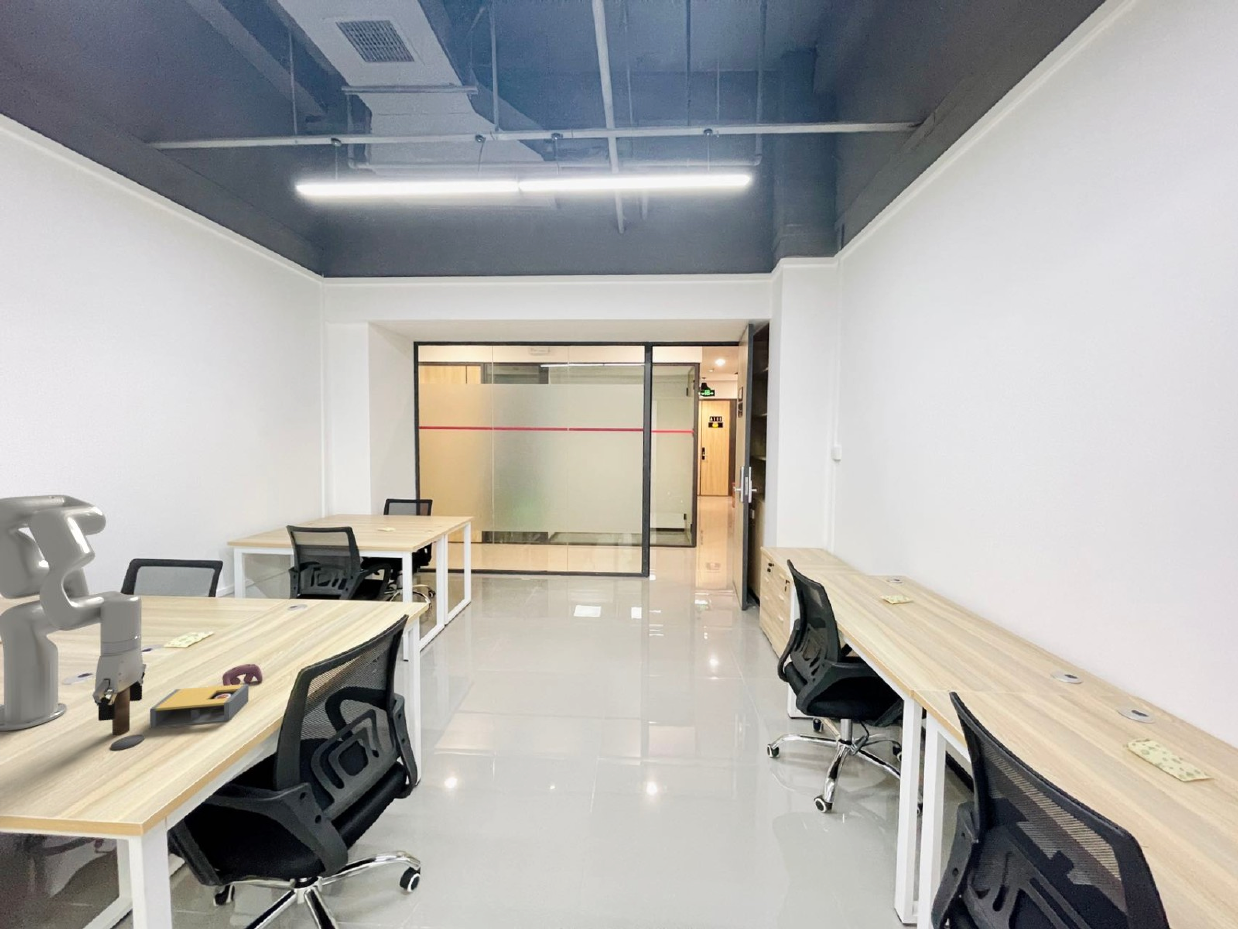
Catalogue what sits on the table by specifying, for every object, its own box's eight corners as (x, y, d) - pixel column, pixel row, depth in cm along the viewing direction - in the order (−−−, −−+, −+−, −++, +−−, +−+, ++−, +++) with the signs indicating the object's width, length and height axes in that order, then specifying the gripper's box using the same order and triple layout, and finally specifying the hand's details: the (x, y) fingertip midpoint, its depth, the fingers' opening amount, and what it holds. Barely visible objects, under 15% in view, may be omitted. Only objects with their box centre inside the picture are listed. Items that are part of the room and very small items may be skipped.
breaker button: (211, 706, 138) (211, 700, 138) (218, 699, 142) (218, 694, 142) (226, 704, 139) (226, 699, 139) (233, 698, 143) (233, 693, 142)
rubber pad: (104, 751, 121) (104, 749, 121) (122, 737, 127) (122, 736, 127) (134, 748, 123) (134, 746, 123) (150, 734, 129) (150, 733, 129)
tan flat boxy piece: (149, 728, 132) (150, 709, 132) (175, 707, 142) (175, 689, 142) (229, 721, 136) (229, 702, 136) (248, 701, 147) (248, 684, 147)
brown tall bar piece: (108, 736, 128) (109, 685, 127) (118, 729, 131) (118, 680, 131) (124, 734, 129) (124, 684, 128) (132, 728, 132) (132, 679, 131)
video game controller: (260, 683, 161) (257, 661, 163) (264, 681, 158) (261, 659, 160) (222, 694, 153) (219, 671, 155) (225, 692, 151) (223, 668, 153)
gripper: (127, 633, 137) (127, 695, 137) (76, 659, 120) (76, 729, 120) (160, 631, 138) (159, 692, 139) (114, 657, 122) (114, 726, 122)
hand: (121, 709), depth 130 cm, fingers open, 9 cm apart
